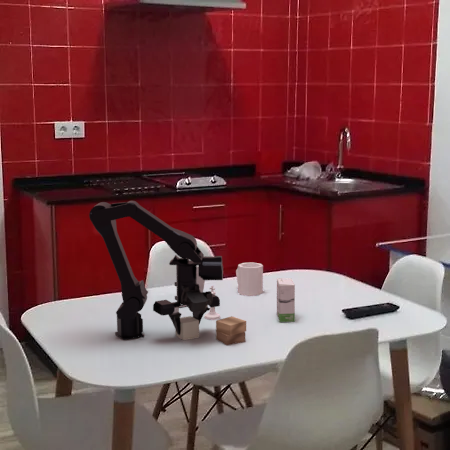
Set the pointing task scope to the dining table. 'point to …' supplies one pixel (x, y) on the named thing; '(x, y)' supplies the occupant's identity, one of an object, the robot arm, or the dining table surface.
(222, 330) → the tower top
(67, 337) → the dining table surface
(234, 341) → the tower base
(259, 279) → the mug
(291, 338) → the dining table surface
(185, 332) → the cube
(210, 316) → the chess piece
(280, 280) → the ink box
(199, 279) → the cup
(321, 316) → the dining table surface
